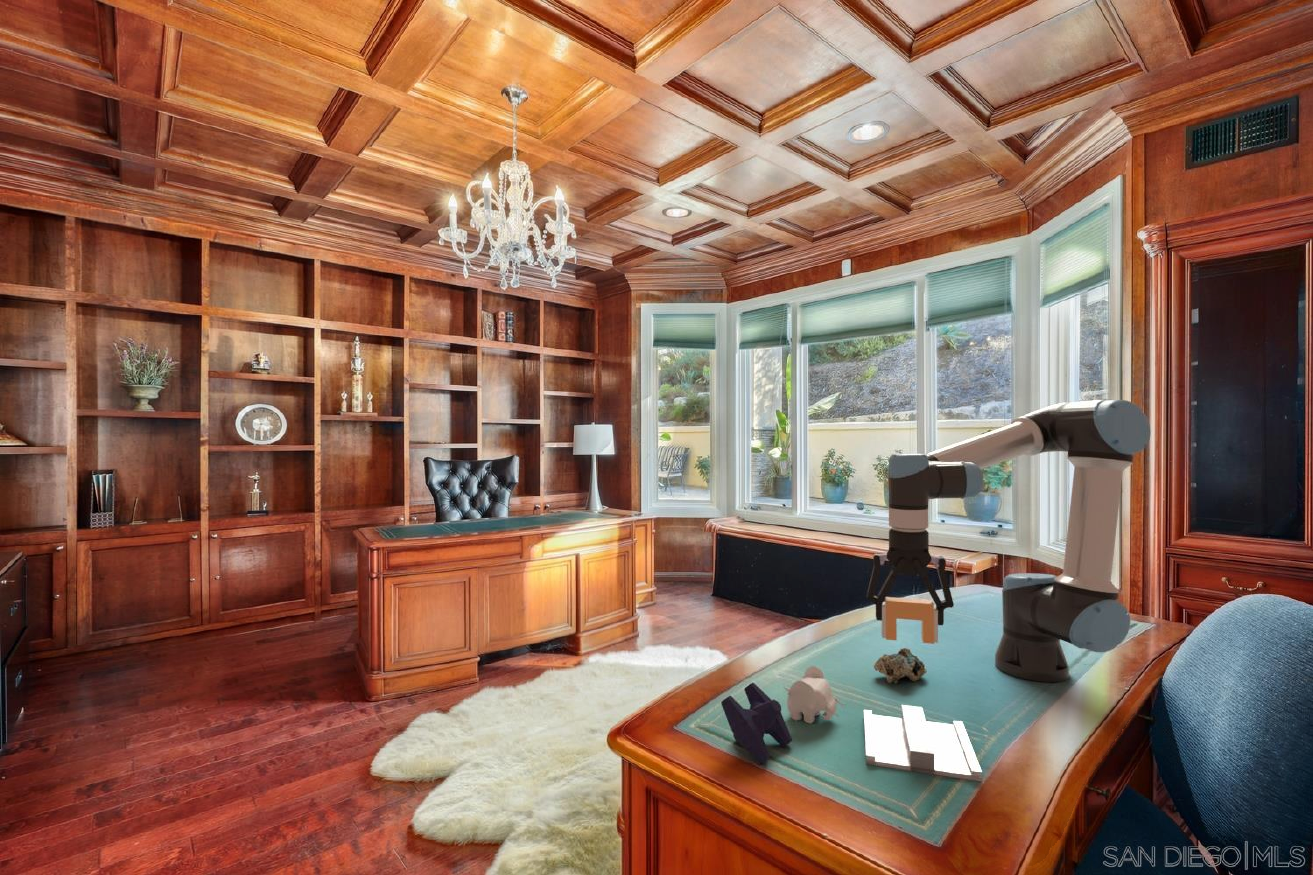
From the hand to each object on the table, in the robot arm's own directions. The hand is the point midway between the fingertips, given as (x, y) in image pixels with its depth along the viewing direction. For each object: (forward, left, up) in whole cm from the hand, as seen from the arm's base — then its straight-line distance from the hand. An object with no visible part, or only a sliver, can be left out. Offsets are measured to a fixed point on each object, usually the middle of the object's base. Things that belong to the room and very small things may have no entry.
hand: (909, 638), depth 124 cm
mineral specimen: (0, -18, -16) cm, 24 cm away
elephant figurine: (+19, +8, -16) cm, 26 cm away
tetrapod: (+28, +23, -16) cm, 39 cm away
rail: (0, +14, -15) cm, 21 cm away
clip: (0, 0, 0) cm, 0 cm away
